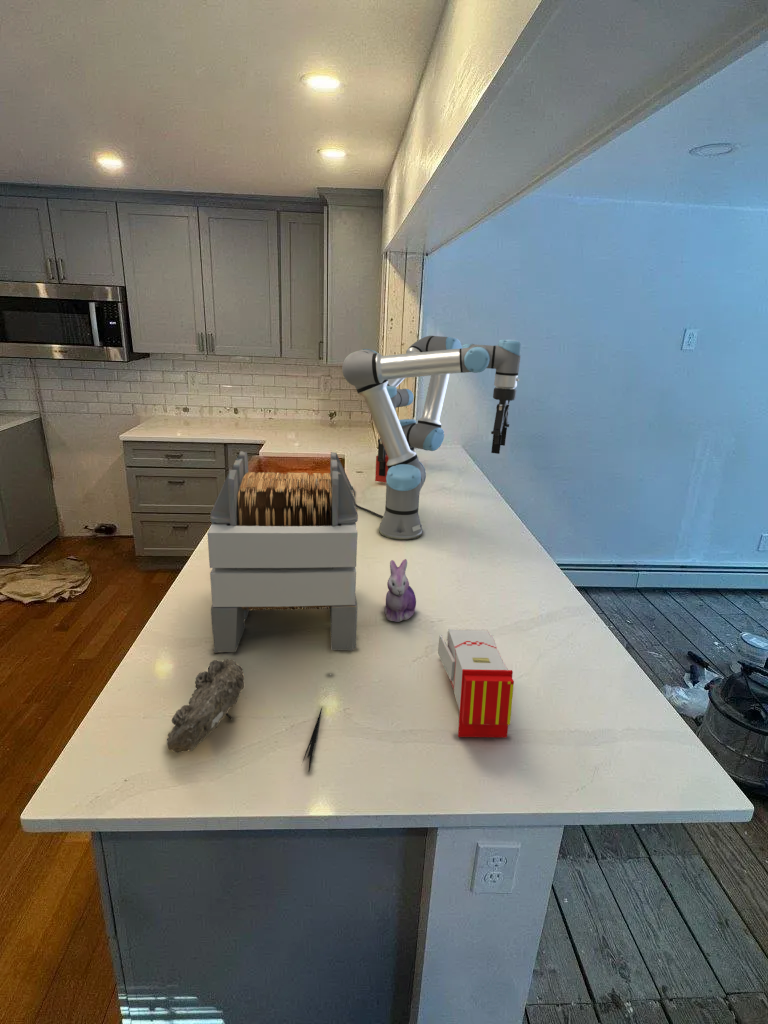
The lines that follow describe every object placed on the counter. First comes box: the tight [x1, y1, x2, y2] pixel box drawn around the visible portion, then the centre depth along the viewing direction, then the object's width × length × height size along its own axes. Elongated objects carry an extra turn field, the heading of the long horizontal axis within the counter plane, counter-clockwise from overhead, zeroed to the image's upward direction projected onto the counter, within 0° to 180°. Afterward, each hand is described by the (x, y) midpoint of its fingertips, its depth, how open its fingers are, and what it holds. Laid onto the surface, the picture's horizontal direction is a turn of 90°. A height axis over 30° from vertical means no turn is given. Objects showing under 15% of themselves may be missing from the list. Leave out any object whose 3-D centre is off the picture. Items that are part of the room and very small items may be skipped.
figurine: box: [384, 558, 417, 623], centre depth 145 cm, size 9×10×15 cm
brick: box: [374, 454, 388, 483], centre depth 254 cm, size 5×7×12 cm
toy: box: [437, 628, 515, 738], centre depth 117 cm, size 12×13×30 cm
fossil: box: [166, 658, 245, 754], centre depth 106 cm, size 22×10×15 cm
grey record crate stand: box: [206, 450, 359, 654], centre depth 137 cm, size 34×33×41 cm
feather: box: [301, 673, 332, 771], centre depth 108 cm, size 2×28×2 cm
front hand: (498, 449), depth 199 cm, fingers open, 13 cm apart
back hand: (384, 474), depth 254 cm, fingers closed on brick, 5 cm apart
